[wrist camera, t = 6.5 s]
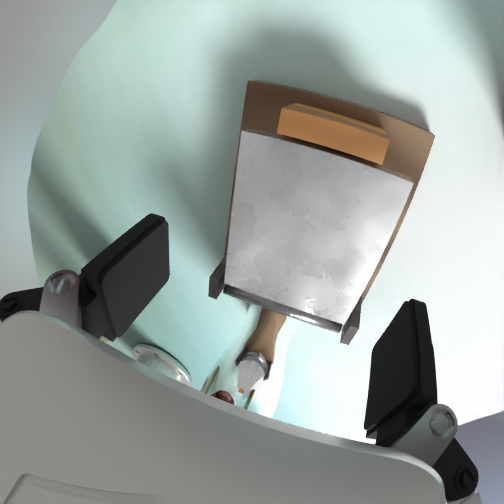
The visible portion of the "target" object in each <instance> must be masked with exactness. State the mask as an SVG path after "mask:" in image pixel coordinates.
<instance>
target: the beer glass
mask: <svg viewBox="0 0 504 504" xmlns="http://www.w3.org/2000/svg"><path fill="white" fill-rule="evenodd" d="M299 324H300V320H297V319H294V318H291V317H288V316H285V315H282V314H280V313H277V312H274V311H271V310H268V309H265V308H262V307H260V306H257V305H254V304H250V306H249V308H248V312H247V316H246V320H245V323H244V326H243V328H242V330H241V331H240V333H239V334H238V335H237V337H236V338H235V339H234V341H233V342H232V343H231V344H230V345H229V347H228V348H227V349H226V350H225V352H224V353H223V354H222V355H221V357H220V358H219V359H218V361H217V362H216V363H215V365H214V366H213V368H212V369H211V371H210V373H209V375H208V376H207V378H206V380H205V382H204V384H203V386H202V388H201V390H200V391H201V392H203V393H206V394H208V395H210V396H213V397H215V398H218V399H220V400H223V401H225V402H228V403H230V404H233V405H235V406H238V407H241V408H244V409H246V410H249V411H252V412H255V413H258V414H260V415H263V416H266V417H269V418H272V417H273V414H274V412H275V409H276V407H277V404H278V400H279V397H280V394H281V389H282V384H283V378H284V371H285V362H286V355H287V349H288V346H289V343H290V341H291V339H292V337H293V335H294V334H295V332H296V330H297V329H298V327H299Z"/></svg>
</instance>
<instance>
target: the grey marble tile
mask: <svg viewBox="0 0 504 504" xmlns="http://www.w3.org/2000/svg"><path fill="white" fill-rule="evenodd" d="M413 184H414V183H413V180H412V178H411V177H409V176H406V175H404V174H401V173H399V172H396V171H393V170H391V169H388V168H386V167H383V166H380V165H377V164H375V163H372V162H369V161H366V160H363V159H360V158H357V157H354V156H351V155H348V154H345V153H342V152H339V151H335V150H332V149H329V148H326V147H322V146H319V145H315V144H312V143H308V142H305V141H301V140H297V139H293V138H289V137H285V136H281V135H277V134H273V133H269V132H265V131H260V130H256V129H251V128H246V129H244V130H242V132H241V139H240V147H239V155H238V163H237V171H236V179H235V187H234V196H233V204H232V213H231V222H230V231H229V240H228V250H227V259H226V269H225V279H224V289H223V293H224V294H227V295H229V296H232V297H235V298H238V299H240V300H243V301H246V302H249V303H251V304H254V305H257V306H260V307H262V308H265V309H268V310H271V311H274V312H277V313H280V314H282V315H285V316H288V317H291V318H294V319H297V320H300V321H303V322H306V323H309V324H312V325H315V326H318V327H321V328H324V329H327V330H331V331H334V332H337V333H339V332H340V330H341V329H342V327H343V326H344V324H345V322H346V321H347V319H348V317H349V316H350V314H351V312H352V310H353V309H354V307H355V305H356V303H357V301H358V300H359V298H360V296H361V294H362V292H363V291H364V289H365V287H366V285H367V283H368V281H369V279H370V277H371V276H372V274H373V272H374V270H375V268H376V266H377V264H378V262H379V260H380V258H381V256H382V254H383V252H384V250H385V248H386V246H387V243H388V241H389V239H390V237H391V235H392V233H393V231H394V228H395V226H396V224H397V222H398V220H399V217H400V215H401V213H402V210H403V208H404V206H405V203H406V201H407V199H408V196H409V194H410V191H411V189H412V186H413Z"/></svg>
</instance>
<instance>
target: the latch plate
mask: <svg viewBox="0 0 504 504" xmlns="http://www.w3.org/2000/svg"><path fill="white" fill-rule="evenodd" d="M246 128H251V129H256V130H260V131H265V132H269V133H273V134H277V135H281V136H285V137H289V138H293V139H297V140H301V141H305V142H308V143H312V144H315V145H319V146H322V147H326V148H329V149H332V150H335V151H339V152H342V153H345V154H348V155H351V156H354V157H357V158H360V159H363V160H366V161H369V162H372V163H375V164H377V165H380V166H383V167H386V168H388V169H391V170H393V171H396V172H399V173H401V174H404V175H406V176H409V177H411V178H412V180H413V183H414V184H413V186H412V189H411V191H410V194H409V196H408V199H407V201H406V203H405V206H404V208H403V210H402V213H401V215H400V217H399V220H398V222H397V224H396V226H395V228H394V231H393V233H392V235H391V237H390V239H389V241H388V243H387V246H386V248H385V250H384V252H383V254H382V256H381V258H380V260H379V262H378V264H377V266H376V268H375V270H374V272H373V274H372V276H371V277H370V279H369V281H368V283H367V285H366V287H365V289H364V291H363V292H362V294H361V296H360V298H359V300H358V301H357V303H356V305H355V307H354V309H353V310H352V312H351V314H350V316H349V317H348V319H347V321H346V322H345V324H344V326H343V328H342V335H341V341H340V343H344V344H347V345H349V343H350V342H351V340H352V339H353V337H354V335H355V334H356V332H357V331H358V329H359V324H360V313H361V304H362V302H363V300H364V298H365V296H366V295H367V293H368V291H369V289H370V287H371V285H372V283H373V282H374V280H375V278H376V276H377V274H378V272H379V270H380V268H381V266H382V264H383V262H384V260H385V258H386V256H387V254H388V252H389V250H390V248H391V246H392V244H393V241H394V239H395V237H396V235H397V233H398V231H399V228H400V226H401V224H402V222H403V219H404V217H405V215H406V212H407V210H408V208H409V205H410V203H411V200H412V198H413V196H414V193H415V191H416V188H417V185H418V183H419V180H420V178H421V175H422V172H423V170H424V167H425V164H426V161H427V158H428V156H429V153H430V150H431V147H432V144H433V141H434V138H435V135H434V134H432V133H431V132H429V131H427V130H425V129H422V128H420V127H418V126H415V125H413V124H410V123H408V122H405V121H403V120H400V119H398V118H395V117H392V116H390V115H387V114H384V113H381V112H379V111H376V110H373V109H370V108H367V107H364V106H361V105H357V104H354V103H351V102H348V101H344V100H341V99H337V98H334V97H330V96H326V95H322V94H318V93H314V92H310V91H306V90H302V89H297V88H293V87H288V86H283V85H278V84H272V83H267V82H261V81H255V80H253V81H248V84H247V90H246V97H245V103H244V110H243V117H242V124H241V131H240V138H239V145H238V152H237V159H236V167H235V174H234V182H233V189H232V197H231V205H230V213H229V222H228V230H227V239H226V247H225V256H224V258H223V260H222V261H221V262H220V264H219V265H218V266H217V268H216V269H215V271H214V272H213V273H212V275H211V276H210V280H209V295H208V296H209V297H212V298H214V299H217V298H218V296H219V294H220V293H221V291H222V290H223V288H224V279H225V269H226V259H227V250H228V240H229V231H230V222H231V213H232V204H233V196H234V187H235V179H236V171H237V163H238V155H239V147H240V139H241V132H242V130H244V129H246Z"/></svg>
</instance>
